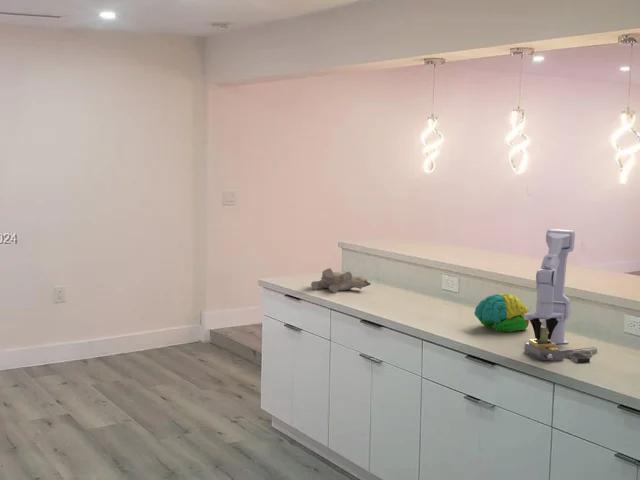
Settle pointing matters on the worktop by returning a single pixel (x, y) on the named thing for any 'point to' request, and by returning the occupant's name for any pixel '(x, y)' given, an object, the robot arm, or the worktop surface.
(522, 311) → the brain model
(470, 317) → the worktop surface
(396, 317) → the worktop surface
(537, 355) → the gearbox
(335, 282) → the animal model
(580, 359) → the handgun
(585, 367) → the worktop surface
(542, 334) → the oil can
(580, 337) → the worktop surface
